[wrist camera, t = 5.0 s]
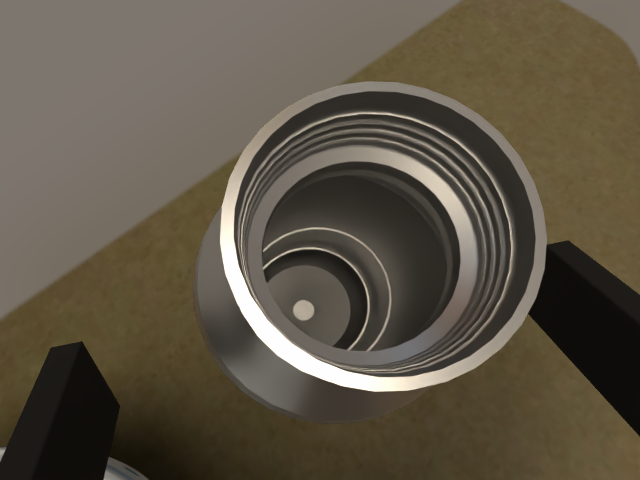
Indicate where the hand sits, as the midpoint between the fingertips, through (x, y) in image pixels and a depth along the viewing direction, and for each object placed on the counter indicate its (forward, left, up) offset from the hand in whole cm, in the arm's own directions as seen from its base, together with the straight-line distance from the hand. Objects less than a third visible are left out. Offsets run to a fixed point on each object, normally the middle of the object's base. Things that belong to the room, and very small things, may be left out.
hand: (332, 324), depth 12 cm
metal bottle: (-1, +1, -12) cm, 12 cm away
